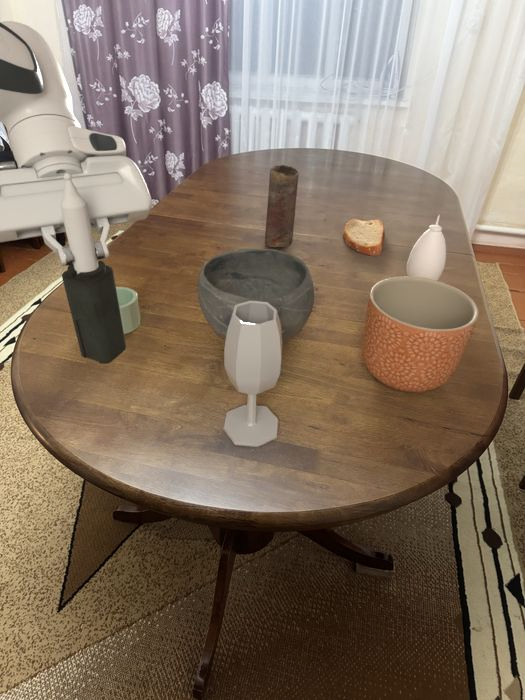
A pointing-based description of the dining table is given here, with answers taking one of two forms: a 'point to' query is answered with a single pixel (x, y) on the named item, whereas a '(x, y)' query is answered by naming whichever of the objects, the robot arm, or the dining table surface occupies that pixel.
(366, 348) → the planter
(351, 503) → the dining table surface
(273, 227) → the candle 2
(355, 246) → the slice of bread
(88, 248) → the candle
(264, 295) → the bowl
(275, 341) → the wineglass
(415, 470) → the dining table surface
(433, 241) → the sauce bottle
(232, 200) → the dining table surface
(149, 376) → the dining table surface
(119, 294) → the holder
